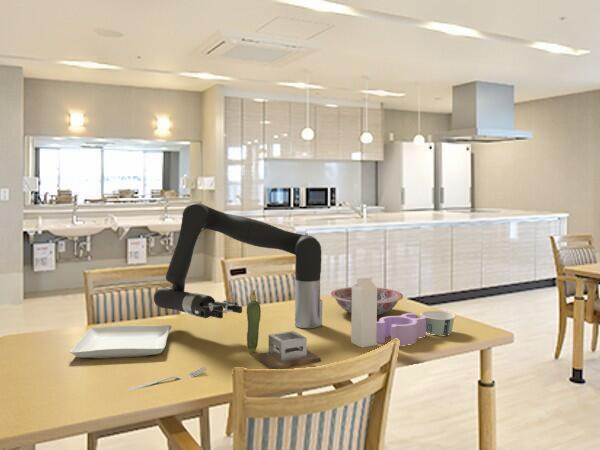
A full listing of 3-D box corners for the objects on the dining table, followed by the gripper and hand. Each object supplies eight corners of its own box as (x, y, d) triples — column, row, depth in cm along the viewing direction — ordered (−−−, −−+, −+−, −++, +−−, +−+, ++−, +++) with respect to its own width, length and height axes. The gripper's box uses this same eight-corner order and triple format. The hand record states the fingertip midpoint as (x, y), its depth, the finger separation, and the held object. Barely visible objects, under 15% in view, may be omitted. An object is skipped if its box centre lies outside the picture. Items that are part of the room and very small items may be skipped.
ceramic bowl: (315, 314, 210) (315, 294, 209) (356, 301, 232) (357, 284, 231) (377, 327, 191) (378, 306, 190) (415, 312, 213) (416, 293, 212)
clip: (404, 329, 188) (405, 311, 188) (434, 337, 179) (435, 317, 179) (369, 341, 175) (369, 320, 174) (399, 350, 166) (399, 328, 165)
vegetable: (246, 349, 165) (246, 287, 163) (260, 349, 165) (260, 287, 164) (246, 354, 160) (246, 290, 159) (260, 354, 161) (260, 290, 159)
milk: (376, 345, 170) (378, 278, 168) (361, 348, 167) (362, 280, 165) (365, 340, 175) (366, 275, 174) (350, 342, 172) (351, 277, 171)
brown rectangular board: (300, 349, 165) (300, 346, 165) (320, 360, 155) (320, 357, 155) (254, 357, 157) (254, 354, 157) (272, 370, 147) (272, 366, 147)
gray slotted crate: (292, 349, 162) (292, 330, 161) (306, 357, 155) (306, 338, 154) (268, 354, 158) (268, 334, 157) (281, 362, 150) (281, 342, 150)
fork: (115, 391, 133) (115, 384, 133) (203, 372, 147) (203, 365, 146) (119, 395, 130) (118, 388, 130) (208, 375, 144) (208, 369, 144)
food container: (462, 334, 183) (463, 316, 182) (438, 339, 177) (439, 320, 176) (436, 326, 193) (437, 308, 192) (413, 331, 187) (413, 313, 186)
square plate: (164, 359, 157) (164, 347, 156) (68, 364, 152) (68, 351, 152) (172, 333, 183) (171, 323, 183) (90, 337, 179) (90, 325, 179)
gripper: (181, 297, 172) (215, 305, 162) (214, 290, 183) (247, 297, 173) (182, 320, 173) (215, 328, 163) (214, 311, 184) (247, 319, 174)
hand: (231, 312), depth 168 cm, fingers open, 8 cm apart
